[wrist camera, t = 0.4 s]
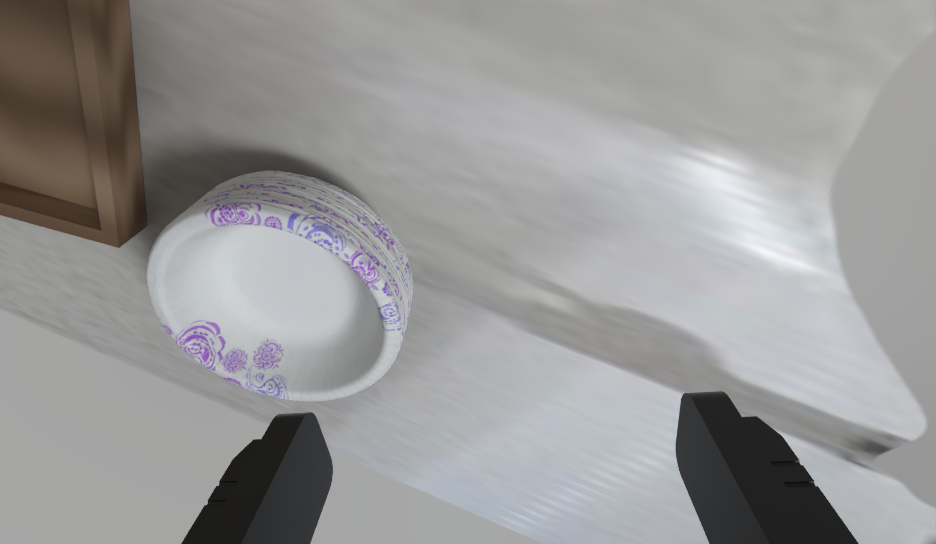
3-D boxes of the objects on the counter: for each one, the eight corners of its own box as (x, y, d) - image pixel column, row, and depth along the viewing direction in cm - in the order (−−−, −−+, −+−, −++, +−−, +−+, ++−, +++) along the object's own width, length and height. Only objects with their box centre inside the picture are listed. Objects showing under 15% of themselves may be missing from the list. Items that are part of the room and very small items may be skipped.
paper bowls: (205, 295, 37) (142, 368, 30) (217, 114, 28) (135, 161, 22) (388, 351, 39) (367, 430, 33) (449, 200, 31) (438, 266, 24)
